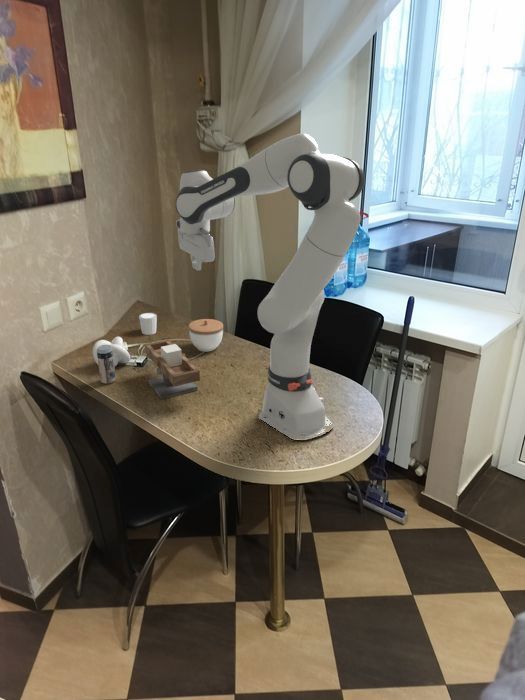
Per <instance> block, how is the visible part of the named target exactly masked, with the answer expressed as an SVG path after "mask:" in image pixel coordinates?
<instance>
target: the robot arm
mask: <svg viewBox="0 0 525 700" xmlns="http://www.w3.org/2000/svg"><path fill="white" fill-rule="evenodd" d="M365 180H366V179H365V173H364V170H363V169H362V167H361V166H360V165H359V164H358V163H357V162H356V161H354V160H353V159H351V158H348V157H344V156H343V157H342V156H338V155H336V154H334V153H333V154H331V153H321V151H320V147H319V145H318V143H317V142H316V140H315V139H314V137H312V136H310V135H309V134H307V133H297V134H294V135H290V136H288V137H287V136H286V137H285V138H282V139H280V140H278V141H275V143H272V144H271V145H269V146H268V147H266V148H264V149H262V150H261V151H259V152H258V153H257V154H255V155H253V156H252V157H250V158H249V159H247V160H245V161H244V162H242V163H240V164H239V165H237V166H235V167H234V168H233V169H231V170H229V171H227V172H225V173H223V174H221V175H219V176H217V177H215V178H212V177H211V176H210V175H209V173H208V171H206V170H204V169H194V170H188V171H184V172H183V173H181V176H180V181H179V192H178V193H177V196H176V199H175V209H176V212H177V214H178V216H179V217H180V218H178V219H177V220H176V221H175V225H176V228H177V241H178V246H179V248H180V250H182V251H183V252H185V253H187V254H189V255H190V261H191V264H192V265H191V266H192V269H194V270H196V271H197V272H198V271H201V270H202V263H211V262H214V261H215V258H216V256H215V255H216V253H215V242H214V238H213V236H211V235H210V231H211V220H216V219H223V218H226V217H230V215H231V214H232V213H233V212H234V209H235V205H236V199H235V198H240V197H249V196H250V197H251V196H259V195H261V196H262V195H267V194H268V195H269V194H275V193H278V192H280V191H284V190H285V189H288V188H289V190H290V191H291V193H292V194H293V196H294V197H295V198H296V199H297V200H298V201H300V202H301V205H302V206H303V207H304V208H305V209H306V210H308V211H314V217H313V220H312V221H311V224H310V226H309V228H308V229H307V231H306V233H305V235H304V237H303V238H302V241H301V243H300V244H299V246H298V248H297V250H296V251H295V253H294V256H293V258H292V259H291V261H290V262H289V263H288V265H287V266H286V268H285V269H284V271H283V272H282V273H281V275H280V276H279V278H277V280H276V281H275V283H274V285H273V286H272V287H271V289H270V291H269V292H268V294H267V295H266V296H265V297H264V298H263V300H261V302H260V303H259V304H258V307H257V319H258V321H259V323H260V325H261V327H262V328H263V329H264V330H266V331H267V332H268V333H271V334H273V337H272V338H271V341H270V351H269V352H270V353H269V366H268V368H267V381H268V383H267V386H266V388H265V390H264V392H263V393H264V394H263V401H262V409H261V411H260V413H259V414H258V419H259V420H260V419H261V420H263V421H264V422H266V423H267V424H269V425H270V426H272V427H274V428H276V429H277V430H279V431H281V432H282V433H284V434H286V435H287V436H289V437H291V438H293V439H305V438H309V437H313V436H316V435H318V434H320V433H323V432H325V431H324V430H325V429H323V427H325V426H329V424H330V423H331V424H333V422H332V421H331V420H330V419H329V418H328V417H327V414H326V407H325V406H324V404H325V399H324V397H322V396H319V395H318V393H317V391H316V389H315V387H314V385H313V383H315V382H314V380H315V378H312V373H311V370H310V369H311V368H310V357H311V356H310V355H311V348H312V347H311V345H312V341H313V336H314V333H315V331H316V330H315V329H316V326H317V322H318V319H319V318H318V317H319V315H320V310H321V309H322V308H321V307H322V306H323V303H324V301H325V297H326V296H325V290H324V289H325V288H326V286H327V285H328V284H329V283H330V282H331V280H332V278H333V277H334V275H335V273H336V272H337V270H338V269H339V267H340V265H341V264H342V262H343V260H344V258H345V257H346V255H347V254H348V251H349V249H350V247H351V245H352V244H353V242H354V241H355V240H354V239H355V237H356V235H357V232H358V230H359V226H360V223H361V222H362V221H361V219H362V218H361V213H360V211H359V209H358V208H357V206H356V205H355V204H354V203H352V202H351V201H353V200H355V199H356V198H357V197H358V196H359V195H360V194H361V193H362V191H363V188H364V186H365ZM261 420H260V421H261ZM327 420H328V421H327ZM263 421H262V422H263ZM264 422H263V423H264ZM266 423H265V424H266ZM267 424H266V425H267ZM326 424H327V425H326ZM331 424H330V425H331ZM269 425H268V426H269ZM270 426H269V427H270ZM272 427H271V428H272ZM274 428H273V429H274ZM277 430H276V431H277ZM301 436H304V437H301Z"/></svg>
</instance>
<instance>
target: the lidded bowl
mask: <svg viewBox="0 0 525 700" xmlns="http://www.w3.org/2000/svg"><path fill="white" fill-rule="evenodd" d="M188 331H189V333H188V334H189V338H190V341H191V344H192V345H193V346H194V347H195V348H196V349H197V350H198V351H200V352H205V353H206V352H213V351H215V350H216V349H217V348H218V346H219V345H220V344H221V342H222V341H223V334H224V324H223V322H222V321H220V320H218V319H217V320H216V319H212V318H210V319H209V318H202V319H201V318H200V319H196V320H193V321H191V322H190V323H189V324H188Z"/></svg>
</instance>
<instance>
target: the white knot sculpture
mask: <svg viewBox="0 0 525 700" xmlns="http://www.w3.org/2000/svg"><path fill="white" fill-rule="evenodd" d="M101 345H109V346H110V347H111V348H112V351H113V360H114V368H116V366H117V365H119V363H120V364H123V363H126V364H129V362H130V361H131V355H130V353H129V352H128V350H127V349H125V348H124V340H123V338H122V337H121V336H116V337H114V338H113V339H112V340H111V341H108V340H106V339H100V340H97V341H96V342H95V343H94V345H93V348H92V356H93V359H94V361H95V363H96V364H97V365H98V357H97V348H98V347H99V346H101Z"/></svg>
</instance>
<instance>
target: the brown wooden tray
mask: <svg viewBox="0 0 525 700" xmlns="http://www.w3.org/2000/svg"><path fill="white" fill-rule="evenodd" d="M173 344H174V343H172V342H171V340H170V339H167V340H161V341H155V342H152V343H151V342H150V343H147V344H145V345H144V346H145V347H144V349H145V354H146V355H147V356H148V358H149V359H150V360H151V361H152V362H153V364H154V365H155V366H156V367H157V368H156V372H157V375H161V376H155V377H153V378H148V379H147V382H148V384H149V385H150V387H151V388H152V389H153V391H154V392H155V393H156V395H157V396H158V397H159V398H160V400H164V399H168V398H172V397H176V396H180V395H184V394H188V393H191V392H196V391H198V390H199V389H198V385H196V384H195V382H199V381H201V378H200V377H201V376H200V375H201V374H200V369H198V367H196V366H195V365H194V364H193V363H192V362H191V360H189V359H188V358H187V357H186V354H185V353H182V365H178V366H174V367H169V366H168V365H167V363H166V362H165V361H164V360H163V359H162V357H161V347H163V346H168V345H173Z"/></svg>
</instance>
